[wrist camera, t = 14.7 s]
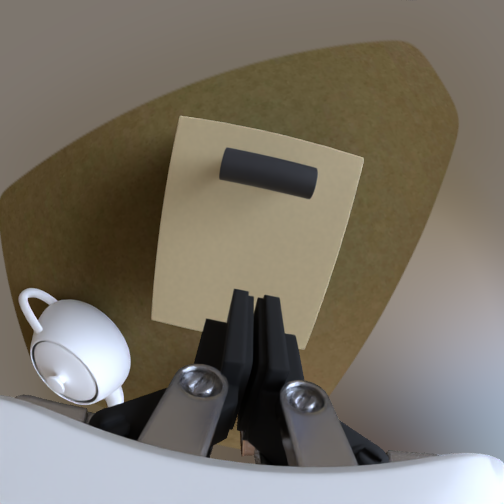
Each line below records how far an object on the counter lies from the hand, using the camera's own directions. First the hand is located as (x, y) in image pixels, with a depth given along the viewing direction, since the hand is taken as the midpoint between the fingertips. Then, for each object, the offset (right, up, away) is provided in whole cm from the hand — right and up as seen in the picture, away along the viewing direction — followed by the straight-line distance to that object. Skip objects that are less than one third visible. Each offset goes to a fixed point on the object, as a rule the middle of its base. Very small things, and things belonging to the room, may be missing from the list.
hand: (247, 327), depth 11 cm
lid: (0, +3, +10) cm, 11 cm away
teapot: (-21, -9, +24) cm, 33 cm away
